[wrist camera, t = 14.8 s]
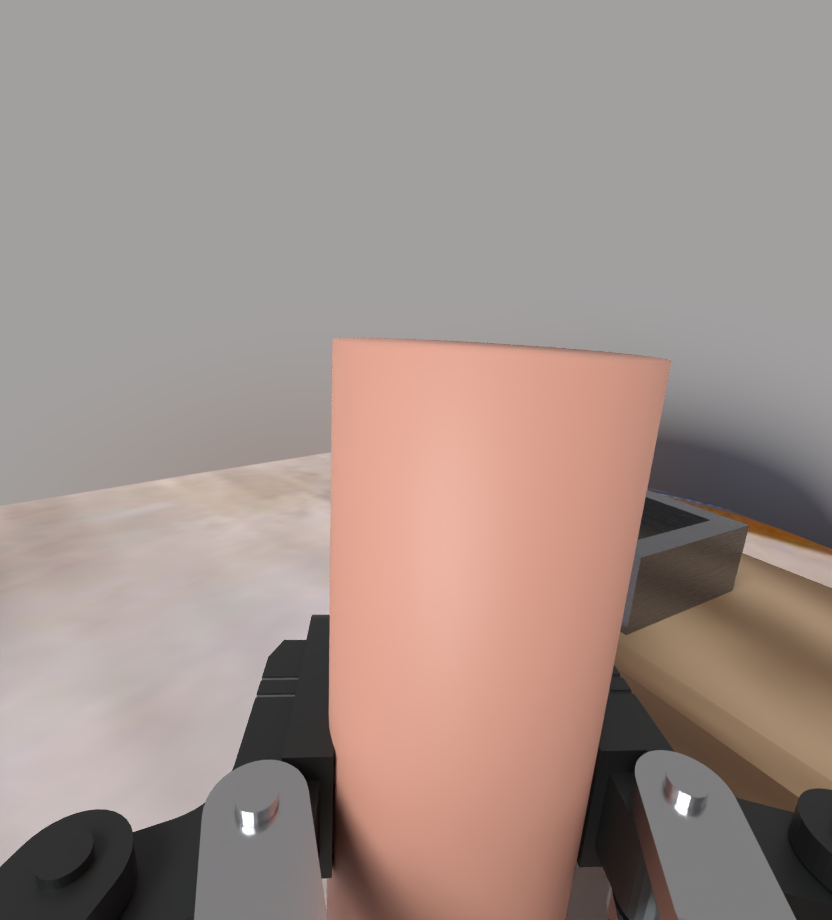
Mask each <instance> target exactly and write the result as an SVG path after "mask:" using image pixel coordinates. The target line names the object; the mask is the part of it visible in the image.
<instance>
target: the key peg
mask: <svg viewBox="0 0 832 920" xmlns="http://www.w3.org/2000/svg"><path fill="white" fill-rule="evenodd" d="M332 356H333V357H332V444H331V448H332V450H331V540H330V637H329V729H330V734H331V738H332V742H333V745H334V802H333V868H332V878H327V920H566V915H567V910H568V905H569V900H570V894H571V889H572V884H573V878H574V873H575V868H576V862H577V857H578V852H579V847H580V841H581V836H582V831H583V825H584V820H585V815H586V810H587V804H588V799H589V794H590V788H591V783H592V778H593V773H594V767H595V762H596V757H597V751H598V746H599V741H600V736H601V730H602V725H603V720H604V714H605V709H606V704H607V699H608V693H609V688H610V683H611V677H612V672H613V667H614V661H615V656H616V651H617V646H618V640H619V635H620V630H621V624H622V619H623V614H624V609H625V603H626V598H627V593H628V587H629V582H630V577H631V572H632V566H633V561H634V556H635V550H636V545H637V540H638V535H639V529H640V524H641V519H642V513H643V508H644V503H645V497H646V492H647V487H648V481H649V476H650V471H651V465H652V460H653V455H654V450H655V444H656V439H657V434H658V429H659V423H660V418H661V413H662V407H663V402H664V397H665V391H666V386H667V381H668V376H669V370H670V365H671V361H670V360H667V359H662V358H655V357H647V356H640V355H631V354H622V353H612V352H601V351H590V350H578V349H577V350H576V349H566V348H553V347H539V346H524V345H510V344H494V343H477V342H458V341H438V340H416V339H387V338H383V339H382V338H339V339H333V347H332Z"/></svg>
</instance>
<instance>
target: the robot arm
mask: <svg viewBox="0 0 832 920" xmlns="http://www.w3.org/2000/svg"><path fill="white" fill-rule="evenodd" d="M329 637H330V615H312V617H311V621H310V626H309V631H308V636H307V640H284V641H283V642H282V643H281V644H280V645H279V646H278V647H277V648H276V649H275V650H274V652H273V653H272V654H271V655H270V656H269V657H268V660H267V663H266V666H265V669H264V673H263V676H262V681H261V682H260V685H259V689H258V692H257V698H255V701H254V704H253V708H252V711H251V714H250V717H249V720H248V724H247V727H246V730H245V733H244V736H243V739H242V743H241V746H240V749H239V752H238V755H237V759H236V762H235V765H234V767H233V770H232V771H231V772H230V773H229V774H227V775H226V776H225V777H223V778H222V779H221V780H220V781H219V782H218V783H217V784H216V786H215V787H214V788H213V790H212V791H211V792H210V794H209V796H208V798H207V799H206V802H205V803H204V804H203V805H201V806H200V807H198V808H196V809H195V810H193V811H191V812H189V813H187V814H185V815H183V816H180V817H178V818H175V819H172V820H169V821H166V822H163V823H160V824H157V825H154V826H151V827H148V828H145V829H142V830H139V831H136V832H132V828H131V825H130V824H129V822H128V821H127V819H125V818H124V817H123V816H122V815H120V814H118V813H116V812H114V811H109V810H99V809H97V810H88V811H83V812H79V813H76V814H73V815H70V816H67V817H65V818H63V819H61V820H59V821H57V822H54V823H53V824H51V825H49V826H48V827H46V828H44V829H43V830H41V831H40V832H39V833H37V834H36V835H34V836H33V837H32V838H31V839H29V840H28V841H27V842H26V843H25V844H24V845H23V846H21V847H20V848H19V849H18V850H17V851H16V852H15V853H14V854H13V855H12V856H11V857H10V858H9V859H8V860H7V861H6V862H5V863H4V864H3V865H2V866H1V867H0V920H327V913H326V906H325V899H324V893H323V886H322V878H332V868H333V802H334V745H333V742H332V738H331V734H330V729H329ZM577 863H578V865H579V867H601V866H603V868H604V871H605V873H606V876H607V878H608V880H609V883H610V886H609V890H608V895H607V903H606V907H607V915H608V920H832V790H829V789H821V788H815V789H809V790H806V791H804V792H803V793H802V794H801V795H800V797H799V799H798V802H797V805H796V808H795V811H794V812H790V811H786V810H782V809H778V808H774V807H770V806H767V805H763V804H759V803H755V802H751V801H747V800H744V799H740V798H737V797H735V796H734V794H733V793H732V791H731V790H730V788H729V787H728V786H727V784H726V783H725V782H724V781H723V780H722V779H721V778H720V777H719V776H718V775H717V774H716V773H714V772H713V771H712V770H711V769H709V768H708V767H706V766H705V765H704V764H702V763H700V762H698V761H697V760H695V759H693V758H690V757H688V756H686V755H683V754H680V753H677V752H675V751H674V750H673V748H672V747H671V746H670V744H669V743H668V741H667V740H666V738H665V737H664V736H663V734H662V733H661V731H660V730H659V728H658V727H657V726H656V724H655V723H654V721H653V720H652V718H651V717H650V716H649V714H648V713H647V711H646V710H645V708H644V707H643V706H642V704H641V703H640V701H639V700H638V698H637V697H636V696H635V694H632V692H631V688H630V687H629V686H628V684H627V683H626V681H625V680H624V678H621V676H620V673H619V671H618V670H617V668H616V667H615V665H614V667H613V672H612V677H611V683H610V688H609V693H608V699H607V704H606V709H605V714H604V720H603V725H602V730H601V736H600V741H599V746H598V751H597V757H596V762H595V767H594V773H593V778H592V783H591V788H590V794H589V799H588V804H587V810H586V815H585V820H584V825H583V831H582V836H581V841H580V847H579V852H578V857H577Z"/></svg>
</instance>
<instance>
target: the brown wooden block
mask: <svg viewBox="0 0 832 920" xmlns="http://www.w3.org/2000/svg"><path fill="white" fill-rule="evenodd" d="M748 528H749V525H747V524H744V523H741V522H738V521H735V520H733V519H730V518H727V517H724V516H721V515H718V514H715V513H712V512H709V511H706V510H704V509H701V508H698V507H695V506H692V505H689V504H686V503H683V502H680V501H677V500H674V499H672V498H669V497H666V496H663V495H660V494H657V493H654V492H651V491H648V490H647V492H646V497H645V503H644V508H643V513H642V519H641V524H640V529H639V535H638V540H637V545H636V550H635V556H634V561H633V566H632V572H631V577H630V582H629V587H628V593H627V598H626V603H625V609H624V614H623V619H622V624H621V630H620V635H619V640H618V646H617V651H616V656H615V661H614V665H615V667H616V668H617V670H618V671H619V673H620V676H621V678H624V680H625V681H626V683H627V684H628V686H629V687H630V688H631V692H632V694H635V696H636V697H637V698H638V700H639V701H640V703H641V704H642V706H643V707H644V708H645V710H646V711H647V713H648V714H649V716H650V717H651V718H652V720H653V721H654V723H655V724H656V726H657V727H658V728H659V730H660V731H661V733H662V734H663V736H664V737H665V738H666V740H667V741H668V743H669V744H670V746H671V747H672V748H673V750H674V751H675V752H677V753H680V754H683V755H686V756H688V757H690V758H693V759H695V760H697V761H698V762H700V763H702V764H704V765H705V766H706V767H708V768H709V769H711V770H712V771H713V772H714V773H716V774H717V775H718V776H719V777H720V778H721V779H722V780H723V781H724V782H725V783H726V784H727V786H728V787H729V788H730V790H731V791H732V793H733V794H734V796H735V797H737V798H740V799H744V800H747V801H751V802H755V803H759V804H763V805H767V806H770V807H774V808H778V809H782V810H786V811H790V812H794V811H795V808H796V805H797V802H798V799H799V797H800V795H801V794H802V793H803V792H804V791H806V790H809V789H815V788H821V789H829V790H832V588H830V587H827V586H825V585H822V584H820V583H817V582H814V581H812V580H809V579H807V578H804V577H802V576H799V575H797V574H794V573H791V572H789V571H786V570H784V569H781V568H779V567H776V566H774V565H771V564H768V563H766V562H763V561H761V560H758V559H756V558H753V557H751V556H748V555H746V554H743V553H742V552H743V548H744V544H745V540H746V536H747V532H748Z"/></svg>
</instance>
